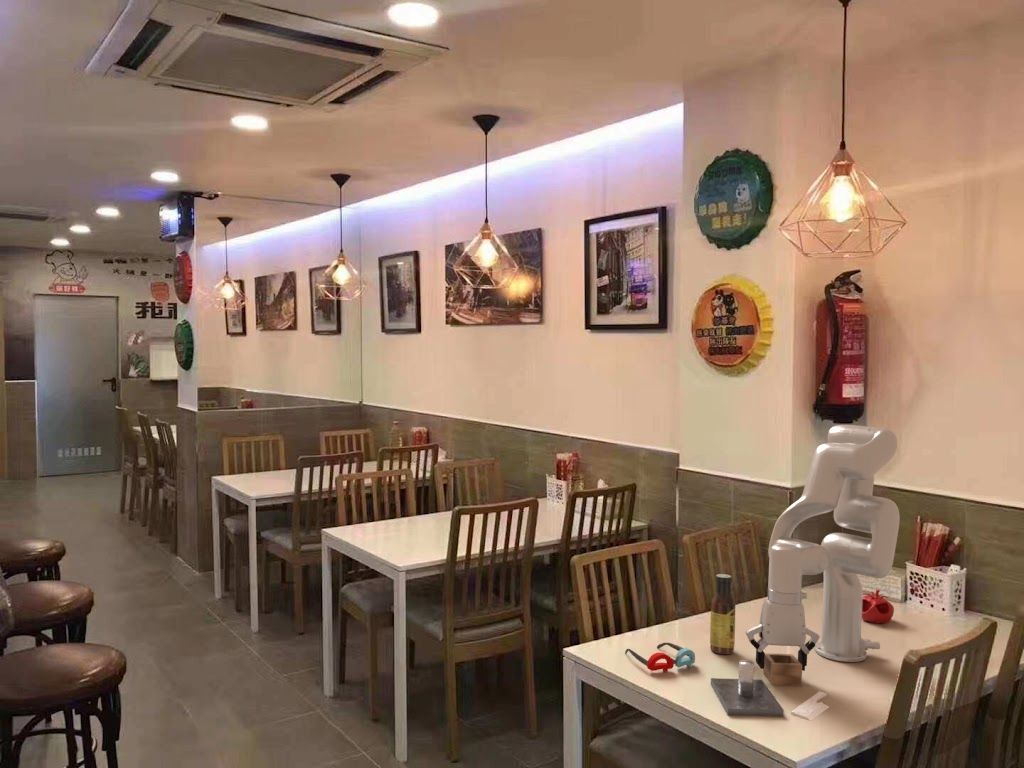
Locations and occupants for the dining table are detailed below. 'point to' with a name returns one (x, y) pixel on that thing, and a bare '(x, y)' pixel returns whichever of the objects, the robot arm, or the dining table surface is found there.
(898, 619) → the dining table surface
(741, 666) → the post stand
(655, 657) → the novelty glasses
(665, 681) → the dining table surface
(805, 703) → the butcher knife
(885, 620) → the red tomato container
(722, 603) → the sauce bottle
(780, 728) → the dining table surface
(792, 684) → the wooden box
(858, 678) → the dining table surface
